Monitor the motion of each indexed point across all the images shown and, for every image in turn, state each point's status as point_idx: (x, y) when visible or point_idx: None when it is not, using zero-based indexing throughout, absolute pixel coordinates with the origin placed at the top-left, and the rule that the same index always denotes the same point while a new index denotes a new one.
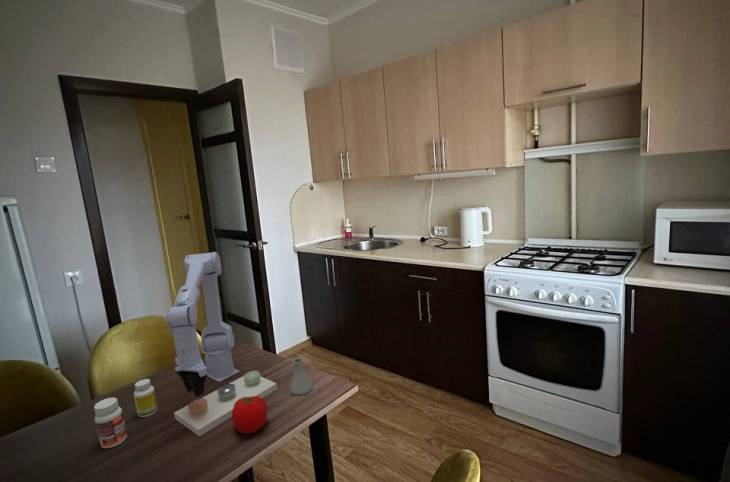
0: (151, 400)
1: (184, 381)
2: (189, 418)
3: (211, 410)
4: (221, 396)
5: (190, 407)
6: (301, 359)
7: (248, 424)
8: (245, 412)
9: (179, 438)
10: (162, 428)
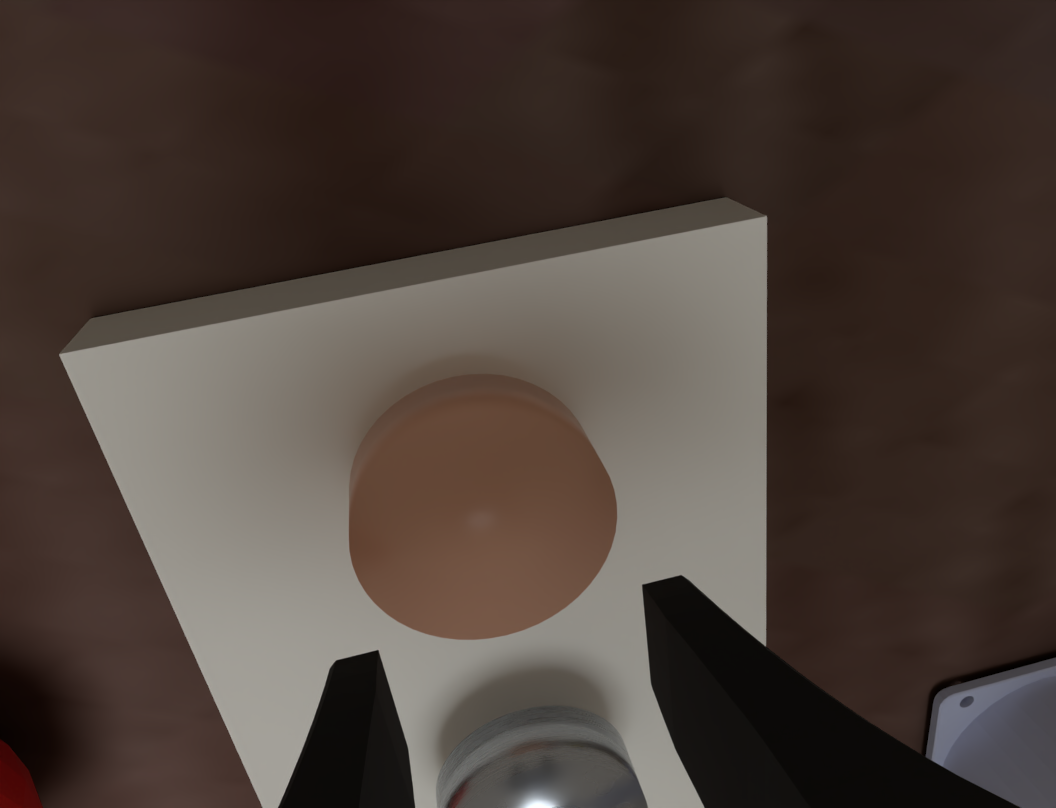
0: None
1: (769, 762)
2: (447, 335)
3: None
4: (485, 744)
5: (462, 437)
6: None
7: None
8: None
9: (240, 113)
10: (664, 7)
